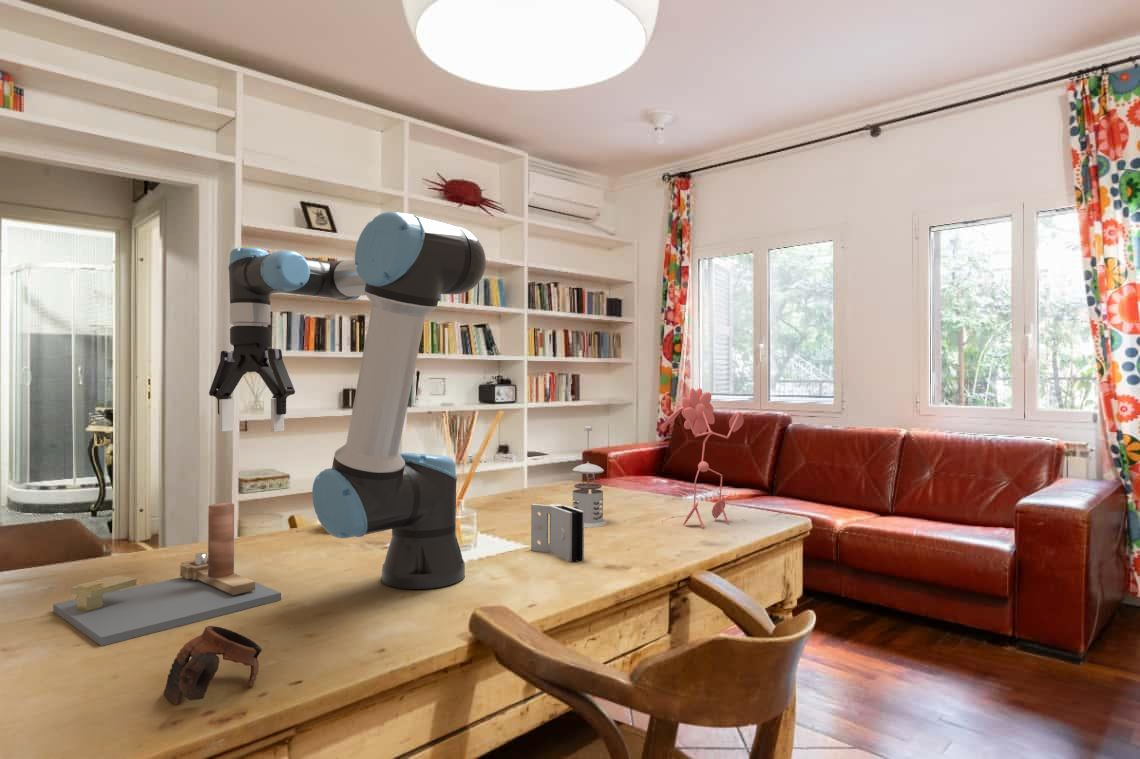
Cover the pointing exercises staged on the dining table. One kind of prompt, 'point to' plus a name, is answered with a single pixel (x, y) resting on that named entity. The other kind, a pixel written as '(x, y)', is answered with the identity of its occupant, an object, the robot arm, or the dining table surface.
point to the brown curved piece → (208, 662)
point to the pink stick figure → (697, 420)
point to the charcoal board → (158, 608)
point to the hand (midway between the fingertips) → (251, 431)
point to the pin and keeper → (109, 587)
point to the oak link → (219, 554)
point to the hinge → (558, 531)
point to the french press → (589, 501)
